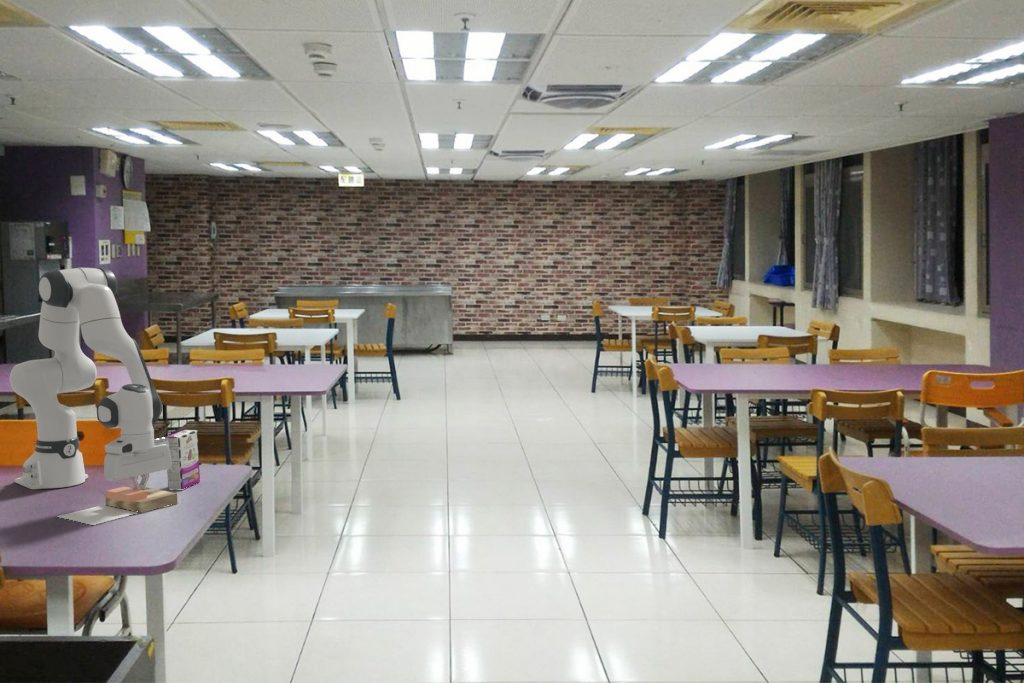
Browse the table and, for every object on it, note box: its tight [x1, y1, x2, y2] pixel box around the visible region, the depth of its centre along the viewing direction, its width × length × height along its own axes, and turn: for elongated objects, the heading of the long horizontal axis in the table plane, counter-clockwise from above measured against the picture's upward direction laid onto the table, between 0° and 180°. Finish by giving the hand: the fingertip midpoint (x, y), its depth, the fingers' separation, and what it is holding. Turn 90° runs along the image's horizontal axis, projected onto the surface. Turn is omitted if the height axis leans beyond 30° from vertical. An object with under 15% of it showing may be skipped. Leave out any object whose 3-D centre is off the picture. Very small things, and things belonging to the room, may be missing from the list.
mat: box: [56, 505, 138, 526], centre depth 283 cm, size 16×14×1 cm
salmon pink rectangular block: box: [105, 486, 147, 502], centre depth 290 cm, size 10×6×2 cm, turn 57°
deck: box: [104, 486, 178, 513], centre depth 295 cm, size 16×12×3 cm
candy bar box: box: [164, 429, 201, 490], centre depth 316 cm, size 11×5×16 cm, turn 168°
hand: (140, 490), depth 294 cm, fingers closed
